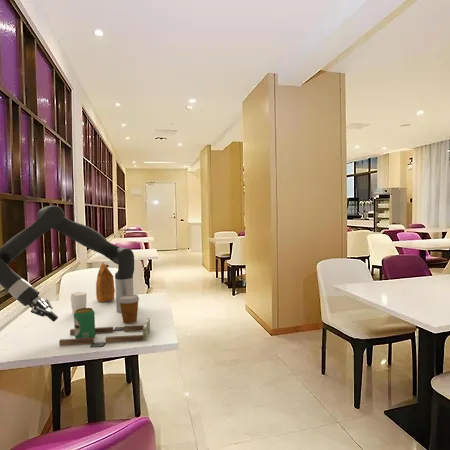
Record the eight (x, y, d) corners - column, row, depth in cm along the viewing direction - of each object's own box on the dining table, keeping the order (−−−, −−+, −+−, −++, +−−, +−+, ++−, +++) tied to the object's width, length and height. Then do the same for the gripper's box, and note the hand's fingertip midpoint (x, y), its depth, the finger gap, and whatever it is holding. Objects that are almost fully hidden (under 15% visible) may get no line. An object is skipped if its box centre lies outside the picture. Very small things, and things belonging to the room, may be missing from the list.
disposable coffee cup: (143, 319, 175) (142, 294, 174) (133, 325, 166) (132, 299, 165) (126, 318, 178) (125, 294, 177) (115, 324, 168) (114, 298, 168)
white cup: (87, 313, 188) (86, 294, 187) (71, 315, 185) (70, 296, 184) (87, 309, 195) (86, 291, 195) (71, 311, 192) (70, 292, 192)
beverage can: (72, 338, 151) (70, 310, 150) (90, 333, 157) (89, 306, 156) (79, 343, 145) (78, 314, 145) (98, 337, 151) (97, 309, 150)
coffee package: (111, 296, 222) (110, 261, 221) (116, 300, 212) (114, 263, 210) (95, 298, 218) (93, 263, 217) (98, 303, 207) (96, 265, 206)
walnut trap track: (74, 330, 161) (73, 319, 161) (151, 326, 164) (150, 315, 164) (55, 349, 139) (55, 336, 139) (144, 344, 142) (143, 331, 142)
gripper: (22, 289, 142) (56, 317, 143) (37, 282, 155) (68, 308, 156) (9, 303, 141) (43, 331, 143) (25, 294, 155) (56, 321, 156)
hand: (56, 319), depth 150 cm, fingers closed
